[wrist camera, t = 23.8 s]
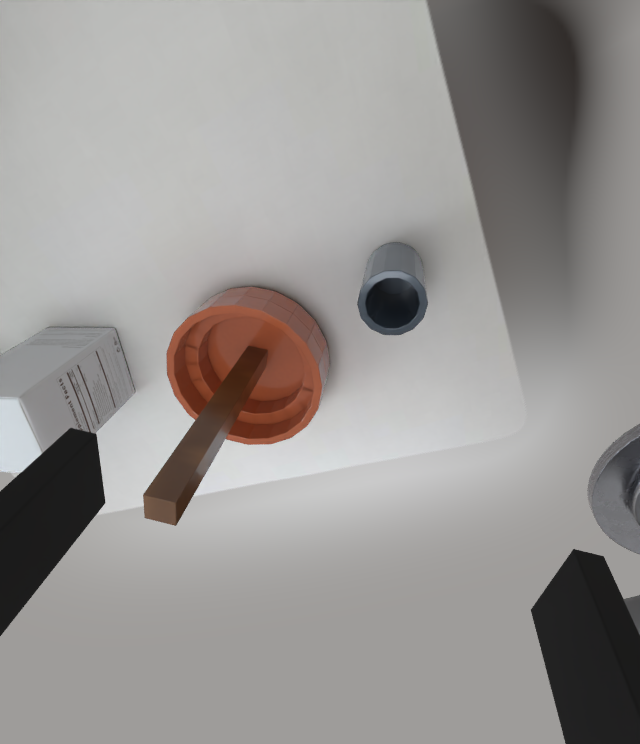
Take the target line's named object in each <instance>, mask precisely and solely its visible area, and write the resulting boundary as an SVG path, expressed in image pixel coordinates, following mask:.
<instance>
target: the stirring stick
mask: <svg viewBox="0 0 640 744" xmlns="http://www.w3.org/2000/svg"><path fill="white" fill-rule="evenodd" d="M267 353H268V350H266V349H261V348H257V347H253V346H247V348H246V349H245V351H244V352H243V354H242V355H241V356H240V358H239V359H238V361H237V362H236V364H235V365H234V366H233V368H232V369H231V371H230V372H229V374H228V375H227V376H226V378H225V379H224V381H223V382H222V383H221V385H220V386H219V388H218V389H217V391H216V392H215V393H214V395H213V396H212V398H211V399H210V401H209V402H208V403H207V405H206V406H205V408H204V409H203V411H202V412H201V413H200V415H199V416H198V418H197V419H196V420H195V422H194V423H193V425H192V426H191V428H190V429H189V430H188V432H187V433H186V435H185V436H184V438H183V439H182V440H181V442H180V443H179V445H178V446H177V448H176V449H175V450H174V452H173V453H172V455H171V456H170V457H169V459H168V460H167V462H166V463H165V465H164V466H163V467H162V469H161V470H160V472H159V473H158V475H157V476H156V477H155V479H154V480H153V482H152V483H151V485H150V486H149V487H148V489H147V490H146V492H145V493H144V495H143V499H144V513H145V518H147V519H151V520H155V521H160V522H163V523H167V524H171V525H175V526H176V525H177V523H178V521H179V520H180V518H181V516H182V514H183V512H184V511H185V509H186V507H187V505H188V504H189V502H190V500H191V498H192V497H193V495H194V493H195V491H196V490H197V488H198V486H199V484H200V483H201V481H202V479H203V477H204V475H205V474H206V472H207V470H208V468H209V467H210V465H211V463H212V461H213V460H214V458H215V456H216V454H217V453H218V451H219V449H220V447H221V446H222V444H223V442H224V440H225V438H226V437H227V435H228V433H229V431H230V430H231V428H232V426H233V424H234V423H235V421H236V419H237V417H238V416H239V414H240V412H241V410H242V408H243V407H244V405H245V403H246V401H247V400H248V398H249V396H250V394H251V393H252V391H253V389H254V387H255V386H256V384H257V382H258V380H259V379H260V377H261V375H262V373H263V371H264V370H265V368H266V362H267Z"/></svg>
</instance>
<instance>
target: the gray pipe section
mask: <svg viewBox="0 0 640 744" xmlns="http://www.w3.org/2000/svg"><path fill="white" fill-rule="evenodd" d="M357 305H358V309H359V312H360V316H361V319H362V320H363V321H364V322H365V323H366V324H367V325H368V327H369V328H370V329H372V330H374V331H377V332H379V333H381V334H383V335H401V334H403V333H405V332H408V331H410V330H413V329H414V328H415V327H416V326H417V325H418V324H419V322H420V321H421V320H422V319H423V318H424V315H425V312H426V309H427V305H428V300H427V293H426V285H425V278H424V271H423V265H422V261H421V258H420V256H419V254H418V253H417V252H416V251H415V250H414V249H413V248H412V247H410V246H409V245H406V244H404V243H398V242H393V243H388V244H385V245H382V246H381V247H379V248H378V249H376V250H375V251H374V252H373V254H372V255H371V257H370V258H369V260H368V263H367V267H366V270H365V274H364V278H363V282H362V286H361V289H360V294H359V298H358V304H357Z"/></svg>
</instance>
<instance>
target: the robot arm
mask: <svg viewBox="0 0 640 744" xmlns="http://www.w3.org/2000/svg"><path fill="white" fill-rule="evenodd" d="M104 504H105V496H104V489H103V481H102V473H101V466H100V458H99V450H98V443H97V435H96V434H95V433H91V432H87V431H83V430H78V429H74V428H69V429H68V430H67V431H66V432H65V433H64V434H63V435H62V436H61V437H60V438H58V439H57V440H56V441H55V442H54V443H53V444H52V445H51V446H50V447H49V448H47V449H46V450H45V451H44V452H43V453H42V454H41V455H40V456H39V457H38V458H36V459H35V460H34V461H33V462H32V463H31V464H30V465H29V466H28V467H27V468H26V469H24V470H23V471H22V472H21V473H20V474H19V475H18V476H17V477H16V478H15V479H13V480H12V481H11V482H10V483H9V484H8V485H7V486H6V487H5V488H4V489H3V490H1V491H0V636H1V635H2V633H3V632H4V631H5V630H6V628H7V627H8V626H9V624H10V623H11V622H12V621H13V619H14V618H15V617H16V616H17V614H18V613H19V612H20V611H21V609H22V608H23V607H24V605H25V604H26V603H27V601H28V600H29V599H30V598H31V597H32V595H33V594H34V593H35V591H36V590H37V589H38V588H39V586H40V585H41V584H42V583H43V581H44V580H45V579H46V578H47V576H48V575H49V574H50V572H51V571H52V570H53V569H54V567H55V566H56V565H57V563H58V562H59V561H60V560H61V558H62V557H63V556H64V555H65V553H66V552H67V551H68V550H69V548H70V547H71V545H73V543H74V542H75V541H76V539H77V538H78V537H79V536H80V534H81V533H82V532H83V531H84V529H85V528H86V527H87V525H88V524H89V523H90V521H91V520H92V519H93V518H94V517H95V515H96V514H97V513H98V512H99V510H100V509H101V508H102V506H103V505H104ZM629 505H630V510H631V512H632V514H633V516H634V518H635V520H636V521H637V523H638V525H639V526H640V475H639V476H638V478H637V479H636V481H635V482H634V484H633V486H632V488H631V491H630V496H629ZM531 612H532V616H533V620H534V624H535V628H536V632H537V635H538V639H539V643H540V647H541V651H542V654H543V658H544V662H545V666H546V670H547V674H548V678H549V681H550V685H551V689H552V692H553V697H554V701H555V704H556V708H557V712H558V716H559V720H560V723H561V727H562V731H563V735H564V739H565V743H566V744H640V595H639V596H635V597H631V598H627V599H623V597H622V595H621V593H620V591H619V589H618V587H617V584H616V583H615V580H614V578H613V576H612V574H611V571H610V569H609V567H608V565H607V563H606V561H605V558H604V557H603V556H600V555H596V554H592V553H588V552H583V551H579V550H575V549H573V551H572V552H571V554H570V555H569V557H568V558H567V559H566V561H565V562H564V563H563V565H562V566H561V568H560V569H559V571H558V572H557V573H556V575H555V576H554V578H553V579H552V581H551V582H550V584H549V585H548V586H547V588H546V589H545V591H544V592H543V594H542V595H541V596H540V598H539V599H538V601H537V602H536V603H535V605H534V606H533V608H532V609H531Z"/></svg>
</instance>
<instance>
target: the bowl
mask: <svg viewBox="0 0 640 744" xmlns="http://www.w3.org/2000/svg"><path fill="white" fill-rule="evenodd" d="M247 346H253V347H257V348H261V349H266V350H268V353H267V362H266V368H265V370H264V371H263V373H262V375H261V377H260V379H259V380H258V382H257V384H256V386H255V387H254V389H253V391H252V393H251V394H250V396H249V398H248V400H247V401H246V403H245V405H244V407H243V408H242V410H241V412H240V414H239V416H238V417H237V419H236V421H235V423H234V424H233V426H232V428H231V430H230V431H229V433H228V435H227V437H226V438H225V439H227V440H231V441H235V442H240V443H244V444H248V445H251V444H273V443H276V442H279V441H283V440H286V439H289V438H291V437H293V436H294V435H295V434H297V433H298V432H300V431H301V430H302V429H304V428H305V427H306V426H307V425H308V424H309V422H310V421H311V419H312V418H313V416H314V415H315V413H316V412H317V410H318V408H319V405H320V401H321V398H322V395H323V391H324V388H325V385H326V381H327V376H328V371H329V366H330V360H329V354H328V347H327V342H326V340H325V338H324V336H323V334H322V332H321V330H320V328H319V327H318V325H317V323H316V322H315V320H314V319H313V318H312V317H311V316H310V315H309V314H308V313H307V312H306V311H305V310H304V309H303V308H302V307H301V306H300V305H299V304H298V303H296V302H294V301H293V300H291V299H289V298H287V297H285V296H283V295H282V294H280V293H278V292H276V291H271V290H266V289H262V288H257V287H243V288H233V289H228V290H225V291H223V292H221V293H219V294H217V295H215V296H213V297H211V298H209V299H208V300H207V301H206V302H205V303H204V304H202V305H201V306H200V307H199V308H198V309H197V310H196V311H195V312H194V313H192V314H191V315H190V316H189V317H188V318H187V319H186V320H185V321H184V322H183V323H182V325H181V326H180V327H179V328H178V329H177V330H176V331H175V332H174V334H173V336H172V339H171V342H170V345H169V348H168V350H167V375H168V378H169V381H170V384H171V387H172V389H173V392H174V395H175V396H176V398H177V399H178V401H179V402H180V403H181V405H182V406H183V408H184V409H185V410H186V412H187V413H188V414H189V415H190V416H191V417H192V418H194V419H195V420H196V419H197V418H198V416H199V415H200V413H201V412H202V411H203V409H204V408H205V406H206V405H207V403H208V402H209V401H210V399H211V398H212V396H213V395H214V393H215V392H216V391H217V389H218V388H219V386H220V385H221V383H222V382H223V381H224V379H225V378H226V376H227V375H228V374H229V372H230V371H231V369H232V368H233V366H234V365H235V364H236V362H237V361H238V359H239V358H240V356H241V355H242V354H243V352H244V351H245V349H246V348H247Z"/></svg>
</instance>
